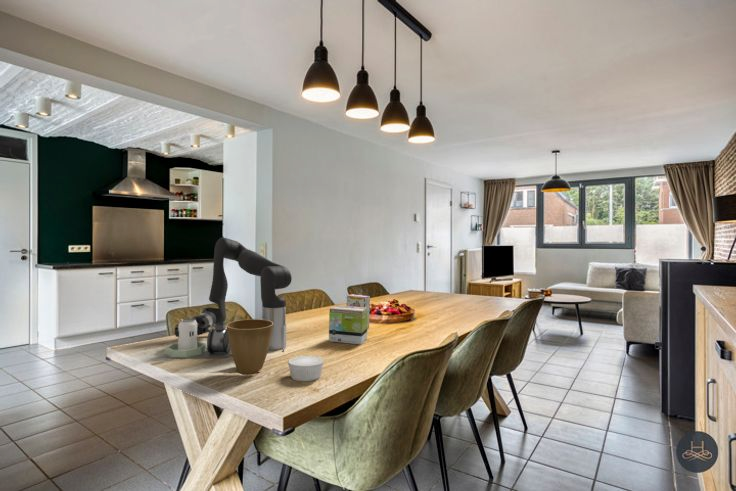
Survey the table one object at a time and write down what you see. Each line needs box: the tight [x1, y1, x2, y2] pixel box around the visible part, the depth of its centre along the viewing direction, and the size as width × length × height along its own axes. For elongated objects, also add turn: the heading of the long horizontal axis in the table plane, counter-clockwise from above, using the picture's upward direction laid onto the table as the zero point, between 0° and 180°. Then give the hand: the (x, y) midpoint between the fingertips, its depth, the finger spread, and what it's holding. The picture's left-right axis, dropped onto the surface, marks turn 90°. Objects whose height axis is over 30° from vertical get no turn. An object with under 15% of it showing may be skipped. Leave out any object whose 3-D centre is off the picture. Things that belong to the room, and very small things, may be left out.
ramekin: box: [287, 355, 324, 382], centre depth 128 cm, size 11×11×5 cm
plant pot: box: [226, 318, 273, 376], centre depth 132 cm, size 15×15×16 cm
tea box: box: [328, 304, 368, 346], centre depth 174 cm, size 15×10×15 cm, turn 76°
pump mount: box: [158, 340, 232, 359], centre depth 149 cm, size 24×14×4 cm, turn 93°
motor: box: [206, 322, 231, 353], centre depth 150 cm, size 7×9×11 cm
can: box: [177, 317, 198, 350], centre depth 149 cm, size 6×6×12 cm
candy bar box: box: [346, 293, 371, 330], centre depth 201 cm, size 11×5×16 cm, turn 58°
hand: (183, 333), depth 146 cm, fingers closed on can, 4 cm apart
